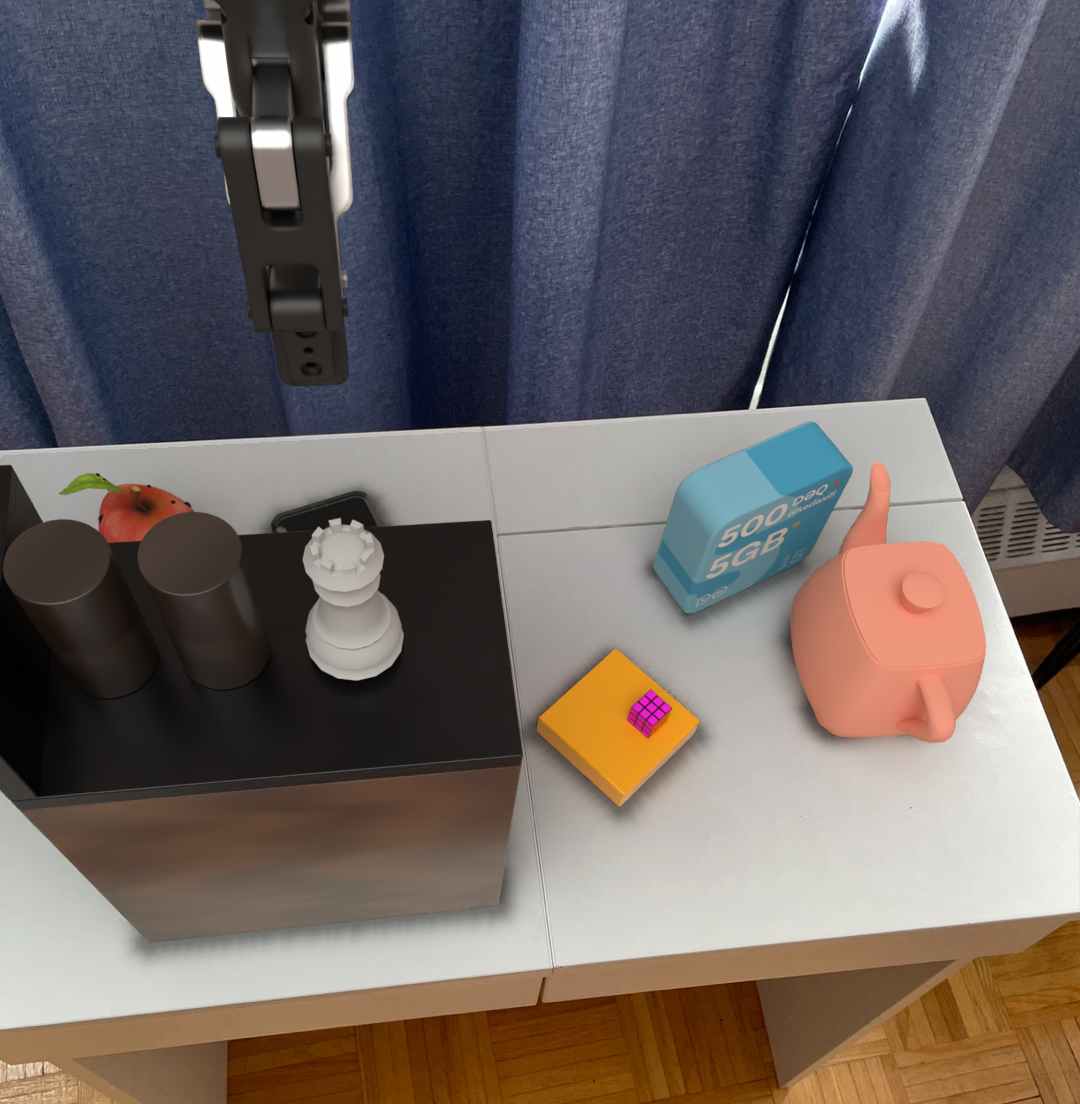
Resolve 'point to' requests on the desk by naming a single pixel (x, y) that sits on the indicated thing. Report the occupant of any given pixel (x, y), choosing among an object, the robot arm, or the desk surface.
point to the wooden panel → (293, 852)
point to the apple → (129, 507)
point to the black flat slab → (270, 684)
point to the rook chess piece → (350, 604)
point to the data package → (749, 515)
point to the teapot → (887, 633)
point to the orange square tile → (617, 726)
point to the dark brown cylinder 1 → (82, 607)
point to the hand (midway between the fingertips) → (312, 282)
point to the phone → (329, 513)
